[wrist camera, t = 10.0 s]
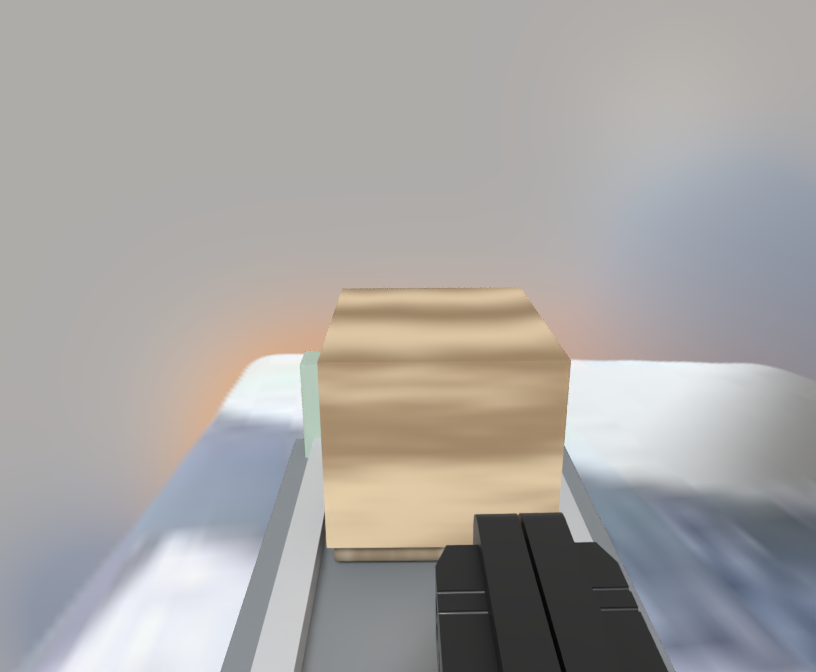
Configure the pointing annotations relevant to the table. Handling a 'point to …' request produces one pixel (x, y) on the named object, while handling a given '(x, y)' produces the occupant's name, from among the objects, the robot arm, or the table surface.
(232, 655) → the roller track
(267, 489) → the table surface
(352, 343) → the wood grain cube
